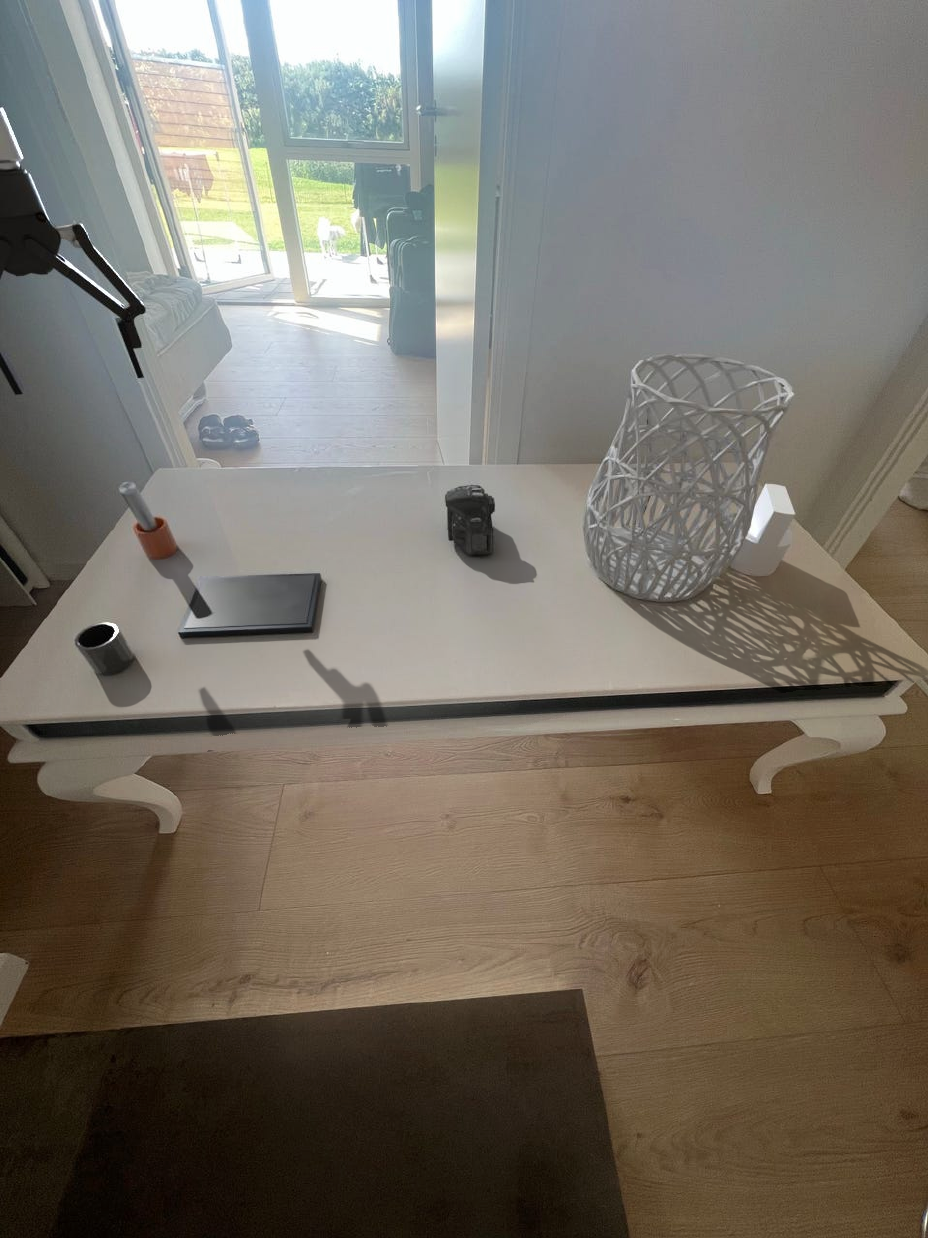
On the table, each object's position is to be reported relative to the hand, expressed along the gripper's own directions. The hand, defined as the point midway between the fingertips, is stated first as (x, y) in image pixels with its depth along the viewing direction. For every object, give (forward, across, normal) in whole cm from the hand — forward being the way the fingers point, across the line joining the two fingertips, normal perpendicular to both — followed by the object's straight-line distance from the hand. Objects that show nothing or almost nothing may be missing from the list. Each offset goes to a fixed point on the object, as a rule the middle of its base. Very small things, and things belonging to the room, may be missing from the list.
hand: (82, 382), depth 67 cm
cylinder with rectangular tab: (+27, -87, +48) cm, 103 cm away
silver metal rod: (+27, 0, -2) cm, 27 cm away
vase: (+27, -70, +41) cm, 86 cm away
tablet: (+27, -10, +21) cm, 36 cm away
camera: (+27, -47, +21) cm, 58 cm away
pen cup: (+27, 0, 0) cm, 27 cm away
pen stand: (+27, +9, +23) cm, 36 cm away
